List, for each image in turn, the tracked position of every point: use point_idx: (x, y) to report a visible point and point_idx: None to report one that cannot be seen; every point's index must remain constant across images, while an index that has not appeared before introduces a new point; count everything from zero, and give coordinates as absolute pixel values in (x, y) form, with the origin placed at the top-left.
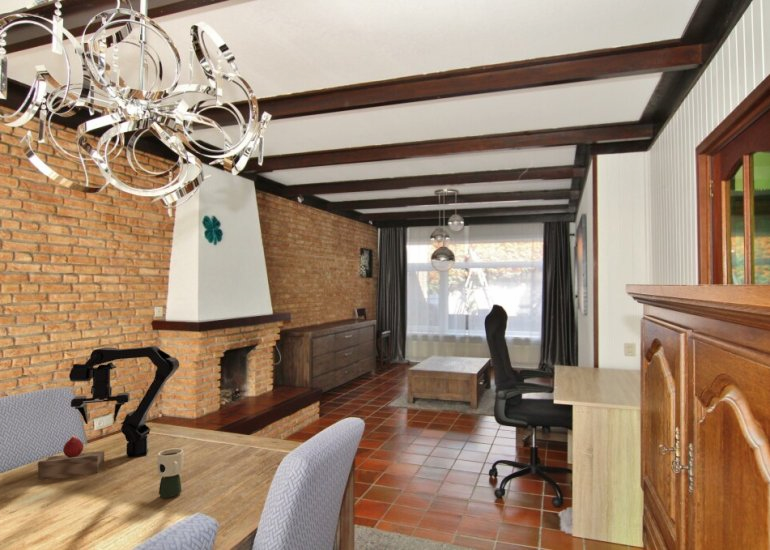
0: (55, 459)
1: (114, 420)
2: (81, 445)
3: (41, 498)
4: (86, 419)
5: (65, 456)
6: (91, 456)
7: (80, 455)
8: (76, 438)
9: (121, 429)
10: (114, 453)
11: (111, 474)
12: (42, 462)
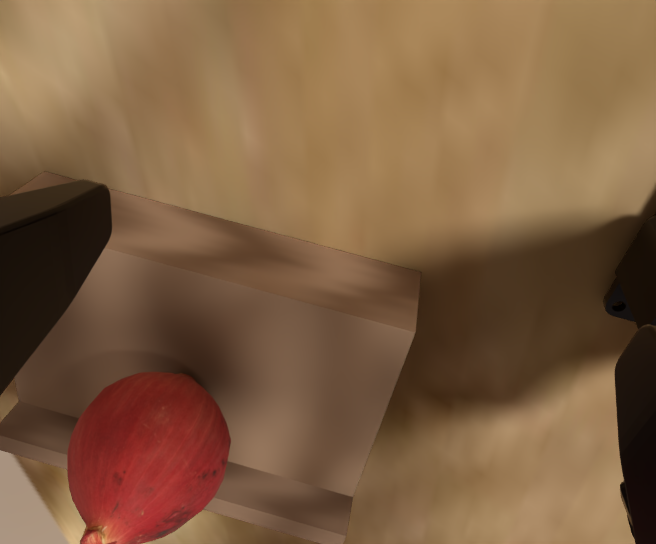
0: None
1: (624, 391)
2: (207, 502)
3: (157, 539)
4: (48, 329)
5: (116, 288)
6: (304, 536)
7: (228, 338)
8: (135, 539)
9: (623, 495)
10: (550, 80)
11: (427, 499)
12: (23, 453)
